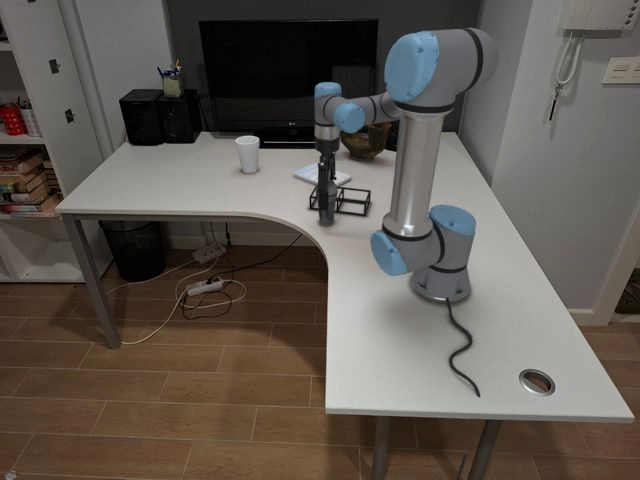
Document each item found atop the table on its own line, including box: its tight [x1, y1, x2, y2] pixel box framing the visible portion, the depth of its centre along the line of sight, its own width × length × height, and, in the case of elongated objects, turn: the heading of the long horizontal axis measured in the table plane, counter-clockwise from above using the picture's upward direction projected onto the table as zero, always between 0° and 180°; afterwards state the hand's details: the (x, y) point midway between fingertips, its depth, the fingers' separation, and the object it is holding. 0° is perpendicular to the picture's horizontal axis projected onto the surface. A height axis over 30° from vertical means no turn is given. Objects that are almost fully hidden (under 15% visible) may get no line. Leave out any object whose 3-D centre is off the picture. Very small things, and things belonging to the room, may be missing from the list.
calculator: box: [293, 162, 352, 187], centre depth 178 cm, size 13×20×2 cm, turn 49°
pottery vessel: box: [340, 122, 393, 162], centre depth 190 cm, size 25×11×20 cm, turn 54°
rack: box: [308, 184, 372, 217], centre depth 157 cm, size 10×20×5 cm, turn 76°
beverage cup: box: [315, 171, 339, 227], centre depth 144 cm, size 7×7×20 cm
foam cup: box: [234, 135, 260, 174], centre depth 181 cm, size 10×9×13 cm
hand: (326, 203), depth 146 cm, fingers closed on beverage cup, 7 cm apart
